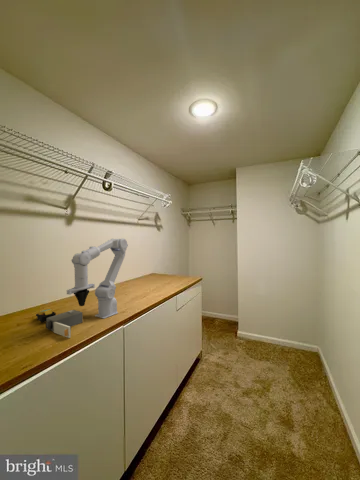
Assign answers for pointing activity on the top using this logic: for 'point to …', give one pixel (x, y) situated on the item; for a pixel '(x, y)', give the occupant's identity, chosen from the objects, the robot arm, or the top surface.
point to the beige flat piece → (62, 329)
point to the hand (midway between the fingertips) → (81, 305)
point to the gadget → (45, 315)
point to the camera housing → (65, 319)
